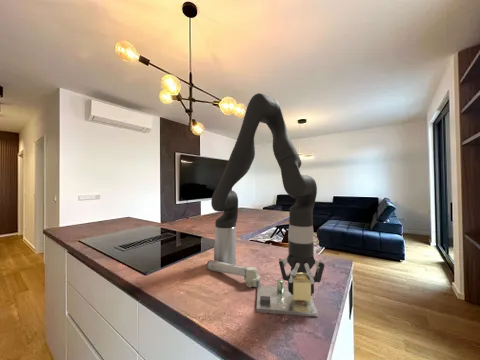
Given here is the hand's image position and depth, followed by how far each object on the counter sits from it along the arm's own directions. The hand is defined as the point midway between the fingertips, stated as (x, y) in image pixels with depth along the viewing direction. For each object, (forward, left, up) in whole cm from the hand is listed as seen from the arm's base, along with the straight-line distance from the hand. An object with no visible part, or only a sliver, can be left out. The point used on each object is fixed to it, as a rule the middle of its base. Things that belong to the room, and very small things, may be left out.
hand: (300, 293), depth 64 cm
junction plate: (-5, 0, -3) cm, 6 cm away
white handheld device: (-24, +14, -3) cm, 28 cm away
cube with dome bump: (0, 0, -1) cm, 1 cm away
